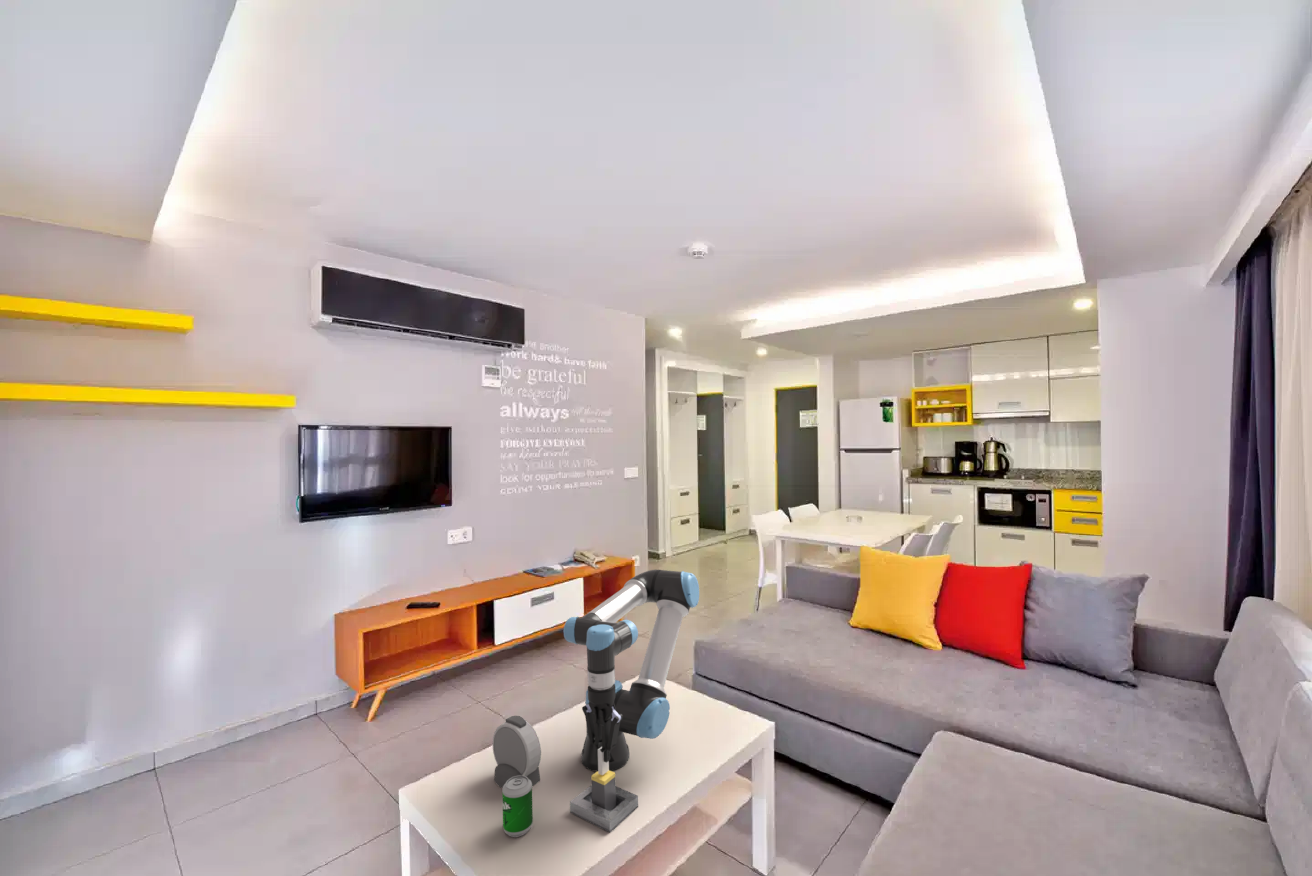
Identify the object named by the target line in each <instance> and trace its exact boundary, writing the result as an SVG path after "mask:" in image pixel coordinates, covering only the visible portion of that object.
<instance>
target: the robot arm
mask: <svg viewBox="0 0 1312 876" xmlns="http://www.w3.org/2000/svg"><path fill="white" fill-rule="evenodd" d="M699 601H700V586H699V582H698V579H697V576H696V575H695V574H694V573H692V572H687V571H684V570H681V571H677V570H668V569H667V570H664V569H651V570H647V571H644V572H641V573H638V574H637V575H635V576H633V577H631V578H630V579H629V580H627V581H626V582H625V583H624V585H623V587H622V588H621V589H620V590H618V591H617V592H615V593H614V594H613V595H611V596H610V597H608V598H607V599H606V600H604V601H602V602H601V603H600V604H599V605H596V607H595V608H593V609H592V610H590V611H589V612H587V613H586V614H585V615H583V616H582V617H580V616H571V617H569V618H567V619H566V621H565V624H564V626H563V637H564V640H565V641H566V642H568V643H572V644H575V645H576V646H577V645H580V646H586V660H587V661H586V663H587V666H586V667H587V669H586V671H587V685H588V686H587V689H586V692H585V705H584V706H582V707H581V710H582V712H583V714H584V717H585V723H586V724H585V725H586V726H585V727H586V737H585V740H584V741H583V747H582V750H581V756H580V757H581V764H582V765H583V766H584V768H586V769H587V770H590V771H592V772H597V771H598V774H600V775H604V774H605V773H606V772H608V771H609V770H610V771H612V772H614V771H616V770H618V769H620V768H622V767H624V766H625V765H626V764H627V763H628V761H629V759H630V748H629V747H630V746H629V745H628V742H627V739H626V736H625V734H629V735H632V736H637V737H638V738H640V739H648V740H649V739H650V740H651V739H656V738H658V737H659V736H660V735H661V734H663V732H664V730H665V729H666V726H667V724H668V721H669V718H670V709H671V705H670V701H668V699H667V696H668V694H667V692H666V690H665V684H666V680H667V679H668V673H669V670H670V666H671V662H672V658H673V655H674V652H675V648H676V643H677V639H678V636H679V632H680V629H681V625H682V621H683V618H684V617H686V616H688V615H689V613H690V609H694V608H696V607H697V606H698V604H699ZM646 603H647V604H648V603H655V605H656V607H657V609H658V612H657V615H656V617H655V621H654V625H653V628H652V631H651V635H650V639H649V642H648V646H647V647H646V651H645V655H644V658H643V661H642V665H641V668H640V671H639V675H638V678H637V679H636V680H635V681H632V683H631V685H630V688H629V690H628V689H627V690H626V689H623V684H622V682H621V681H620V680H617V679H616V667H615V663H616V661H615V660H616V659H615V658H616V656H618V655H619V654H620V653H623V652H624V651H625V650H627V649H629V648H631V647H632V645H634V644H635V643H636V642H637V641H638V638H639V637H638V636H639V630H638V627H637V625H636V624H635V623H634V622H633V621H632V620H629V619H624V620H623V619H622V618H623V617H624V616H626V615H627V614H628V613H629V612H630V611H632V610H633V609H634V608H636V607H640V606H643V605H644V604H646ZM620 619H622V620H620Z"/></svg>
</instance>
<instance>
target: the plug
mask: <svg viewBox="0 0 1312 876" xmlns="http://www.w3.org/2000/svg"><path fill="white" fill-rule="evenodd" d="M590 778H591V781H590V783H591V785H592V803H593V804H595V805H597V806H599V807H601V808H603V809H605V810H607V811H609V812H610V811H611V810H612V809H614V808H615V807H616V772H615V771H610V770H609V771H608V772H606V773H605V774H604V775H600V774H598V771H595V773H593V774H591V777H590Z"/></svg>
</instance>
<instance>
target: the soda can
mask: <svg viewBox="0 0 1312 876" xmlns="http://www.w3.org/2000/svg"><path fill="white" fill-rule="evenodd" d="M501 792H502V793H501V794H502V795H501V796H502V830H503V832H504V833H505V834H506V835H507V836H509V837H512V838H518V837H521V836H523V835H525V834H527V832H529V831H530V829H531V828H532V827H533V822H534V817H533V814H534V813H533V786H532V782H531V780H529V779H528V778H527V777H526V776H520V775H519V776H514V777H512V778H510V779H509V780H507V782H506V783H505V784H504V786H503V788H501Z"/></svg>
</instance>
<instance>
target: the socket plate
mask: <svg viewBox="0 0 1312 876" xmlns="http://www.w3.org/2000/svg"><path fill="white" fill-rule="evenodd" d="M569 808H570V809H569V811H570V812H569V813H570V814H572V815H574V816H576V817H577V818H580V819H582V820H584V821H586V822H587V823H589V824H592V825H593V826H596V827H597V828H599V829H602V830H604V831H606V832H608V833H611V832H613V831H614V830H615V829H616V828H617V827H618V826H619V825H620V824H622V822H623V821H625V820H626V819H627V818H628V817H629V816H630V815H631V814H632V813H633V812H635V810H637V808H639V795H637V794H635V793H633V792H630V791H628V790H626V789H624V788H621V787H619V786H616V807H615V808H614V809H612V810H611V811H610V812H609V811H607V810H605V809H603V808H601V807H599V806H597V805H595V804H593V803H592V784H591V785H589V786H588V787H587V788H586V789H584V790H583V791H581V792H580V793H579V794H578V795H577V796H575V797H574V798H573V799H571V800H570V801H569Z"/></svg>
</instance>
